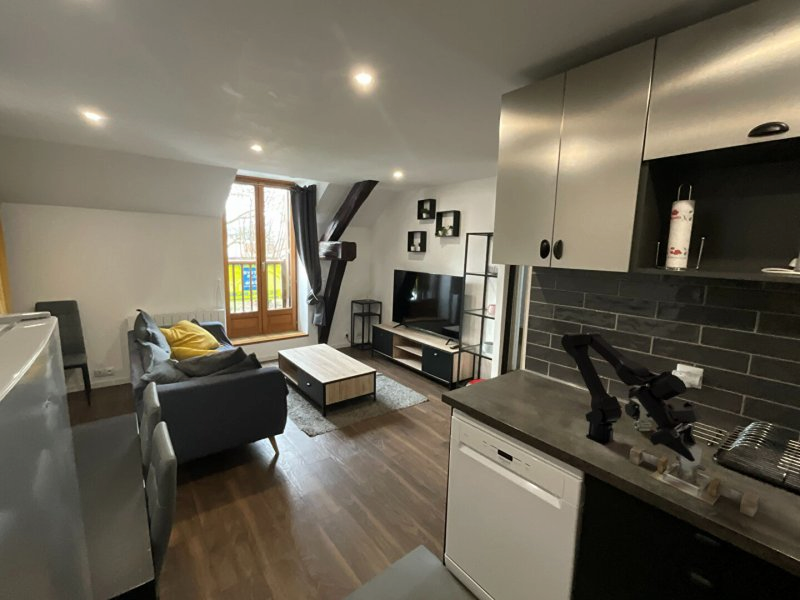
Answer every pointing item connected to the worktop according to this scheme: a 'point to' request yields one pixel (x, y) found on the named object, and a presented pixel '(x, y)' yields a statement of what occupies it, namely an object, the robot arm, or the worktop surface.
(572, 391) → the worktop surface
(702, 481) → the shaft rig
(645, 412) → the pneumatic valve
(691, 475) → the ujoint coupling
